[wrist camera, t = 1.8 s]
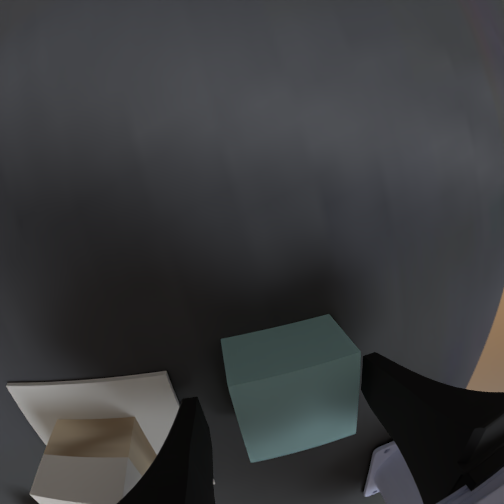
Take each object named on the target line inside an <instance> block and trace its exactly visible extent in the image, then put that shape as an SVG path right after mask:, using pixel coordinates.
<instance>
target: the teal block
mask: <svg viewBox="0 0 504 504" xmlns="http://www.w3.org/2000/svg"><path fill="white" fill-rule="evenodd" d="M221 345H222V352H223V359H224V365H225V372H226V378H227V385H228V389H229V393H230V396H231V400H232V403H233V407H234V410H235V414H236V417H237V420H238V424H239V427H240V430H241V434H242V437H243V440H244V443H245V447H246V450H247V453H248V456H249V459H250V462H251V463H253V462H258V461H263V460H267V459H272V458H276V457H280V456H284V455H288V454H292V453H296V452H299V451H303V450H307V449H310V448H313V447H317V446H320V445H323V444H326V443H330V442H333V441H336V440H339V439H342V438H345V437H347V436H350V435H353V434H356V426H357V415H358V402H359V385H360V363H361V351H360V350H359V349H358V348H357V347H356V345H355V344H354V343H353V342H352V341H351V339H350V338H349V337H348V336H347V335H346V333H345V332H344V331H343V330H342V329H341V328H340V326H339V325H338V324H337V323H336V322H335V320H334V319H333V318H332V317H331V316H330V314H327V315H323V316H319V317H315V318H311V319H307V320H303V321H299V322H295V323H291V324H287V325H283V326H278V327H274V328H270V329H265V330H261V331H256V332H252V333H247V334H242V335H238V336H233V337H228V338H223V339H221Z"/></svg>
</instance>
